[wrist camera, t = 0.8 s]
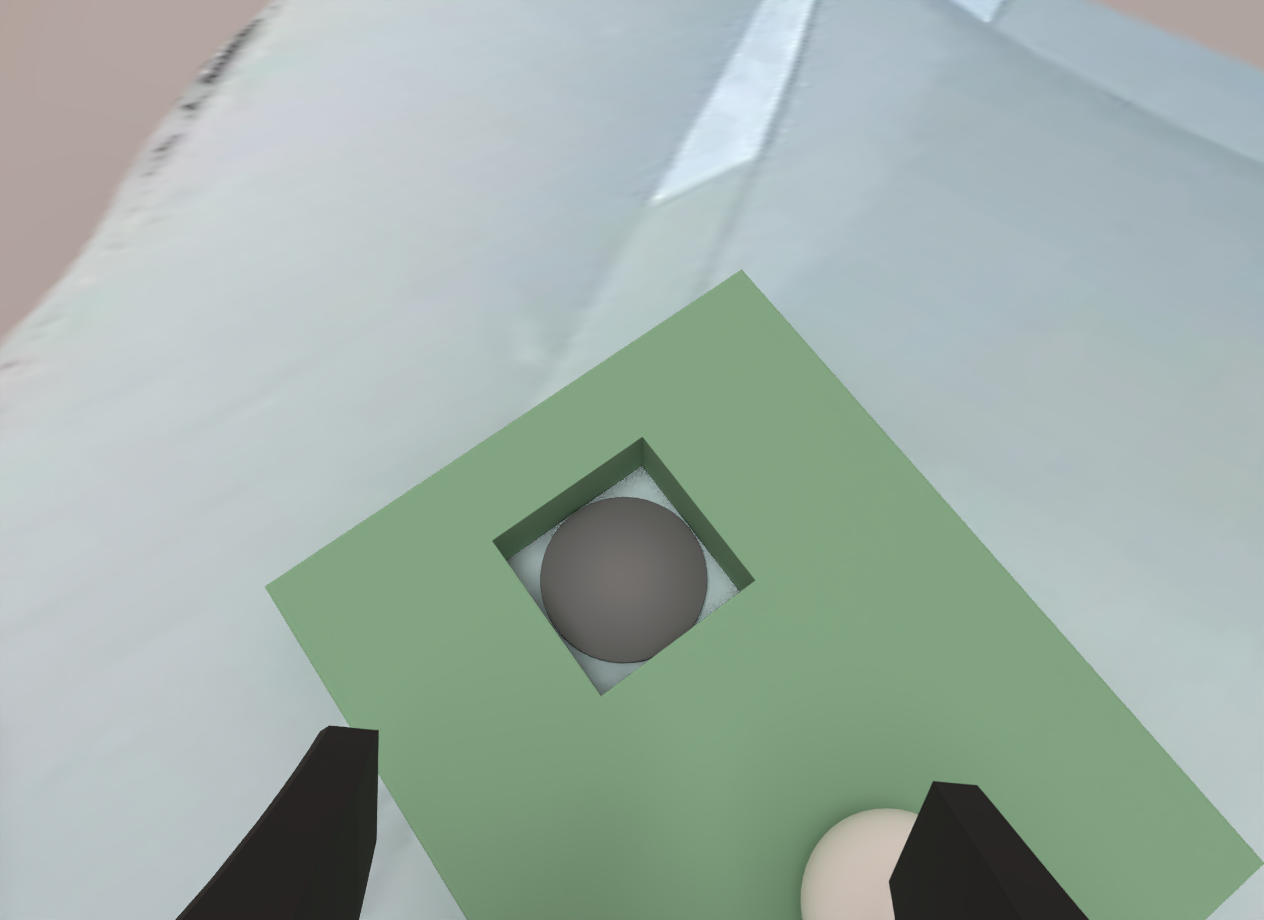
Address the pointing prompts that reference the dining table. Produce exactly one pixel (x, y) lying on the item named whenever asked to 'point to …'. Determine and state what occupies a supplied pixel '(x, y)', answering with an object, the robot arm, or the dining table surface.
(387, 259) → the dining table surface
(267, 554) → the dining table surface
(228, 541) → the dining table surface
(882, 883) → the ball
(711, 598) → the dining table surface
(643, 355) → the putting mat
